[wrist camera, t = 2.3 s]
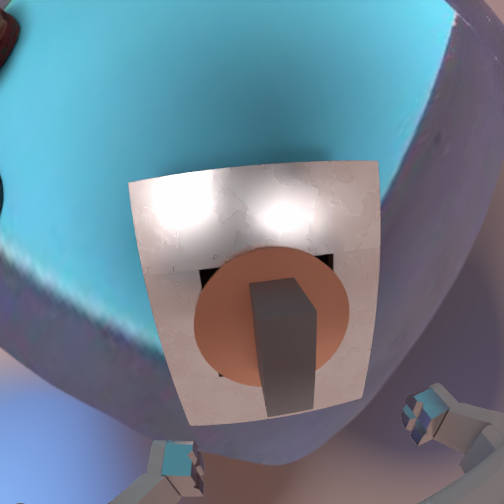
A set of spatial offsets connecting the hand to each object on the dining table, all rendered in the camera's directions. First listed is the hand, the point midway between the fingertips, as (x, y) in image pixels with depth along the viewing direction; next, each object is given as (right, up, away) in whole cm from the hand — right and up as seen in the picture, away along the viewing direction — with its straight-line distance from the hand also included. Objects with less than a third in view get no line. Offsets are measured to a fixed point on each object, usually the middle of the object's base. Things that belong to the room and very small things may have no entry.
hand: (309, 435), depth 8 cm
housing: (-2, +4, +15) cm, 15 cm away
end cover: (-1, +4, +13) cm, 14 cm away
